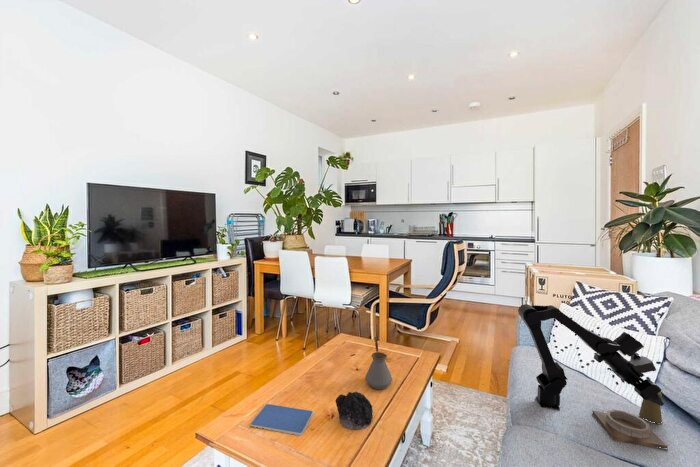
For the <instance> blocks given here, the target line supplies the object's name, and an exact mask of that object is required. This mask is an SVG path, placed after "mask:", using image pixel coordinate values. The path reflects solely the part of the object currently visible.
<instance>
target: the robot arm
mask: <svg viewBox="0 0 700 467" xmlns="http://www.w3.org/2000/svg"><path fill="white" fill-rule="evenodd" d="M517 312H518V313H517V314H518V315H519V316H520V318H521V320H522V321H523V323H524V324H525V326H526V327H527V329H528V331H529V333H530V336H531V338H532V341H533V344H534V346H535V349H536V350H537V353H538V355H539V358H540V360H541V371H542V372H541V373H540V374H538V375H537V376H535V378H536V381H537V383H538V385H537V396H535V399H536V401H537V402H538V404H539V406H540V407H541V408H546V409H553V410H559V411H560V410H561V407H560V405H561V393H562V391H563V389H564V388H565V387H566V386H567V384H568V383H567V381H568V380H569V379H568V378H567V377H566V374H565V370H564V368H563V367H562V366H561V365H560V363H558V362H557V361H556V362H555V360H554V357H553V356H552V353H551V351H550V348H549V344H548V343H547V340H546V338H545V337H546V336H544V332H543V330H542V322H544V321H548V320H551V319H555V320H556V321H557V322H558V323H560V324H561V325H563V326H564V327H566V328H567V329H569V330H570V331H572V333H574V334H575V335H577V337H578V338H579V339H580V340H581V341H582V342H583V343H584V344H585V345H586V346H587V347H589V349H591V350H593V352H594V356H593V359H594V360H595V361H596V362H598V363H599V364H600V363H602V362H603V361H604V363H605V364H607V365H608V367H609V368H610V369H611V372H613V374H615V376H617V377H618V378H619V379H621V380H622V381H623V382H625V383H626V384H628V385H631V386H633V388H634V390H633V391H634V392H636V393H637V394H638V395H639V396H640V397H641V398H642V400H643V399H644V400H649V401H651V402H654V403H656V404H658V405H660V407H663V406H664V405H665V403H664V401H663V400H662V399H661V398H660V397H659V395H658V393H659V392H661V393H662V388H661V387H660V386H659V385H657V384H656V383H655V382H654V381H653V380H651V379H643V377H645V374H647V373H650V372H656V371H657V368H656V366H655V364H654V362H653V360H651V359H650V358H648V357H647V356H643V355H641V356H640V355H639V354H637V352H639V351H640V350H642V349H643V348H645V346H644V345H643V344H642V343H641V341H639V340H637V339H636V338H635V337H633V336H632V335H630V333H628V332H626V331H623V332H622V333H621V334H620V335H619V336H617V337H616V338H615V339H611V338H608V337H604V336H601V335H599V334H597V333H596V332H594V331H592V330H590V329H588V328H585V327H583V326H582V325H581V324H579V323H578V322H577V321H575V320H573V319H572V318H571V317H569V316H568V315H566V314H565V313H564V312H562V310H560V309H559V308H558V307H556V306H554V305H538V304H537V305H536V304H535V305H531V304H524V303H523V304H522V305H520V306H519V308H518V309H517ZM622 355H623V356H622ZM624 356H627V357H630V359H629V360H627V359H626V358H625V357H624Z"/></svg>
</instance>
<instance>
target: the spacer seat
mask: <svg viewBox="0 0 700 467" xmlns="http://www.w3.org/2000/svg"><path fill="white" fill-rule="evenodd" d="M592 415H593V417H594V418H595V419H596V418H597V419H596V420H597V421H598V422H599V424H600V425H601V426H602V428H603V429H604V430H605V431H606V433H607V434H608V435H609V437H610V438H611V439H612V440H613V441H614V442H615V441H616V442H623V443H627V444H633V445H638V446H644V445H645V446H644V447H651V448H655V447H658V448H657V449H661V448H667V449H668V447H669V446H668V444H666V443H665V442H664V441H663V439H661V438H660V437H659V436H658V435H657V434H656V433H655V432H654V431H653V430H652V429H651V428H650V425H649V423H648V422H647V421H646V420H644V419H642V418H641V417H640V416H637V415H635V414H633V413H630V412H627V411H624V410H618V409H611V410H607V412H605V411H597V410H592ZM659 447H661V448H659Z"/></svg>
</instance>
